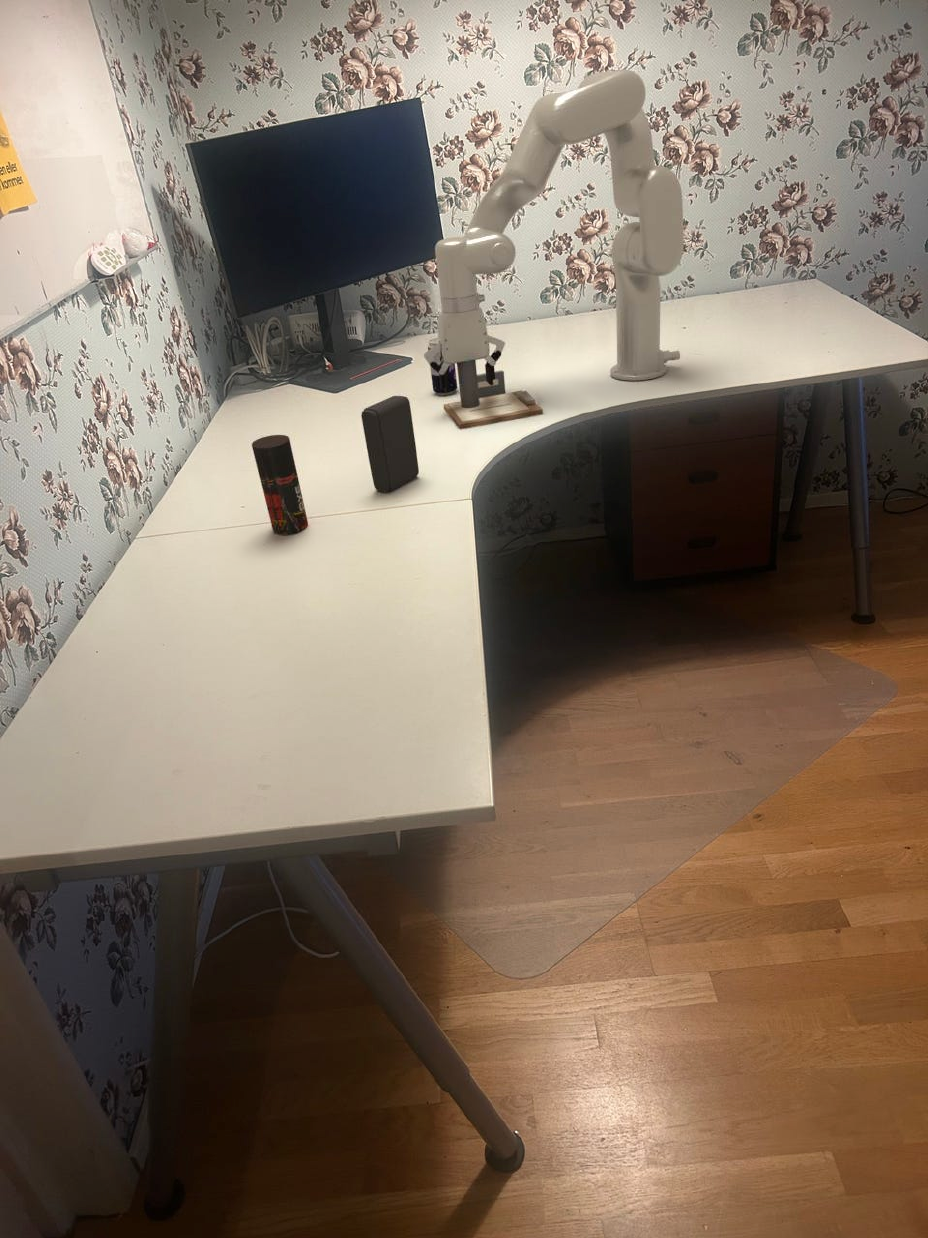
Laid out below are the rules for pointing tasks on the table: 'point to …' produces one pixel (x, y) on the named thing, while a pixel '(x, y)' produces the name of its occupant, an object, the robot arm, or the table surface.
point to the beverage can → (435, 375)
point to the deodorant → (280, 484)
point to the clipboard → (494, 409)
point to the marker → (468, 383)
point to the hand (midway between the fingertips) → (468, 387)
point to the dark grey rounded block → (390, 443)
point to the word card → (493, 389)
